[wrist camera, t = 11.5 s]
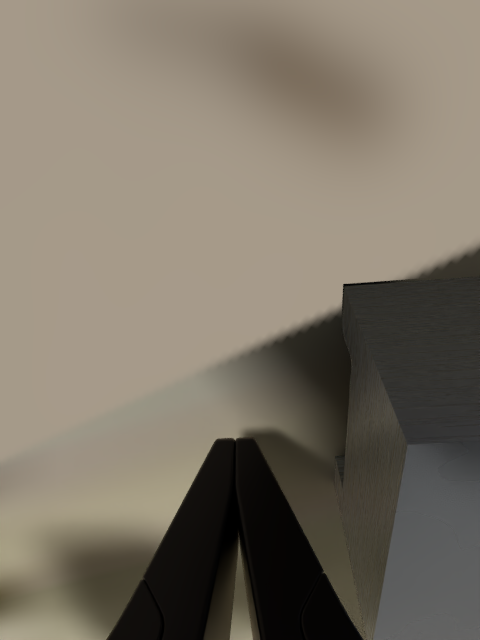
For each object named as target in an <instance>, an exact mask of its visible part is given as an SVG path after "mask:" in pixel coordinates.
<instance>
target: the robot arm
mask: <svg viewBox="0 0 480 640" xmlns="http://www.w3.org/2000/svg"><path fill="white" fill-rule="evenodd" d="M239 540H240V549H241V557H242V564H243V571H244V579H245V586H246V593H247V600H248V607H249V614H250V621H251V628H252V636H253V640H363V638H362V637H361V635H360V634H359V632H358V630H357V629H356V627H355V626H354V624H353V623H352V621H351V619H350V618H349V616H348V614H347V612H346V611H345V609H344V607H343V605H342V603H341V602H340V600H339V598H338V596H337V595H336V593H335V591H334V589H333V587H332V585H331V583H330V581H329V579H328V578H327V576H326V574H325V573H323V568H322V566H321V565H320V563H319V561H318V559H317V557H316V555H315V553H314V551H313V549H312V547H311V545H310V543H309V541H308V540H307V538H306V536H305V534H304V532H303V530H302V528H301V526H300V524H299V522H298V520H297V518H296V517H295V515H294V513H293V511H292V509H291V507H290V505H289V503H288V501H287V499H286V497H285V495H284V493H283V492H282V490H281V488H280V486H279V484H278V482H277V480H276V478H275V476H274V474H273V472H272V470H271V469H270V467H269V465H268V463H267V461H266V459H265V457H264V455H263V453H262V451H261V449H260V447H259V445H258V444H257V442H256V440H255V439H254V438H253V437H245V438H237V439H236V441H235V440H234V439H233V438H221V439H217V440H216V441H215V442H214V444H213V446H212V447H211V449H210V451H209V453H208V455H207V457H206V459H205V461H204V462H203V464H202V466H201V468H200V470H199V472H198V474H197V476H196V477H195V479H194V481H193V483H192V485H191V487H190V489H189V491H188V492H187V494H186V496H185V498H184V500H183V502H182V504H181V506H180V507H179V509H178V511H177V513H176V515H175V517H174V519H173V521H172V522H171V524H170V526H169V528H168V530H167V532H166V534H165V536H164V537H163V539H162V541H161V543H160V545H159V547H158V549H157V551H156V552H155V554H154V556H153V558H152V560H151V562H150V564H149V566H148V568H147V569H146V571H145V573H144V575H143V579H144V580H140V582H139V584H138V586H137V588H136V590H135V592H134V593H133V595H132V597H131V599H130V601H129V603H128V604H127V606H126V608H125V610H124V611H123V613H122V615H121V617H120V618H119V620H118V622H117V624H116V625H115V627H114V629H113V630H112V632H111V633H110V635H109V636H108V638H107V639H106V640H230V630H231V620H232V609H233V599H234V588H235V578H236V568H237V557H238V544H239Z"/></svg>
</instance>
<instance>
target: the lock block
mask: <svg viewBox="0 0 480 640" xmlns="http://www.w3.org/2000/svg"><path fill="white" fill-rule="evenodd" d="M398 281H401V280H391V281H377V282H364V283H350V284H343V297H342V306H343V318H342V333H343V336H344V339H345V342H346V345H347V348H348V351H349V354H350V357H351V360H352V362H351V377H350V391H349V406H348V420H347V435H346V450H345V456H335V474H334V486H335V490H336V495H337V500H338V505H339V509H340V514H341V519H342V524H343V528H344V533H345V538H346V543H347V548H348V552H349V557H350V562H351V567H352V571H353V576H354V581H355V586H356V590H357V595H358V600H359V605H360V610H361V614H362V619H363V624H364V629H365V633H366V638H367V640H480V277H467V278H453V279H439V280H425V281H412V282H398ZM395 282H398V283H395Z"/></svg>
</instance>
